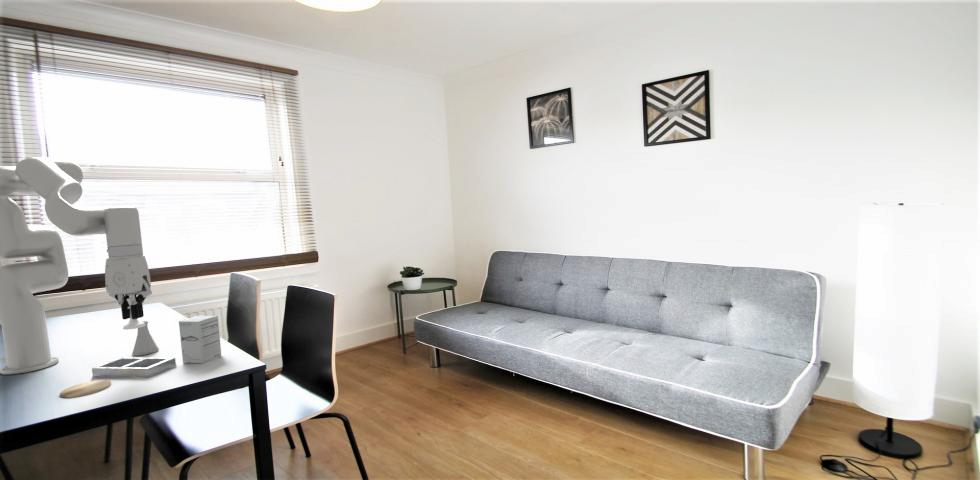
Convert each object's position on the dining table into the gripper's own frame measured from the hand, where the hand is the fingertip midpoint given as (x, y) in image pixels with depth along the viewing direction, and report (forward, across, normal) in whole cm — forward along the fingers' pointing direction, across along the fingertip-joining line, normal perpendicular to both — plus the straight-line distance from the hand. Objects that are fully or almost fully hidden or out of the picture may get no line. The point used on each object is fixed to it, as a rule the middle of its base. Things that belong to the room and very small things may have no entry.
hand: (133, 317), depth 130 cm
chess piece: (+3, 0, 0) cm, 3 cm away
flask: (+16, -16, +18) cm, 29 cm away
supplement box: (+16, +10, +11) cm, 22 cm away
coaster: (+16, -4, -11) cm, 20 cm away
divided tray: (+16, -3, +2) cm, 16 cm away
